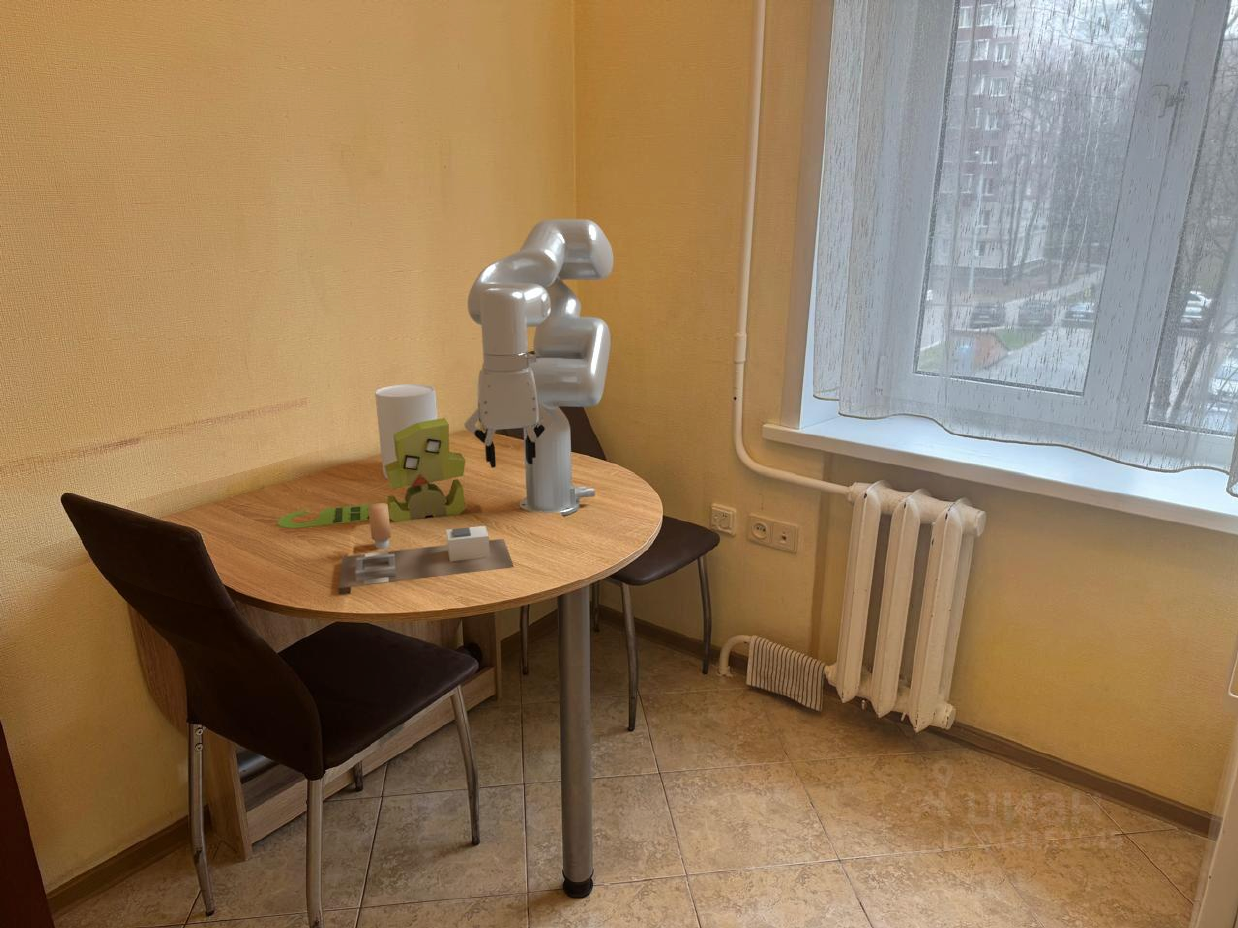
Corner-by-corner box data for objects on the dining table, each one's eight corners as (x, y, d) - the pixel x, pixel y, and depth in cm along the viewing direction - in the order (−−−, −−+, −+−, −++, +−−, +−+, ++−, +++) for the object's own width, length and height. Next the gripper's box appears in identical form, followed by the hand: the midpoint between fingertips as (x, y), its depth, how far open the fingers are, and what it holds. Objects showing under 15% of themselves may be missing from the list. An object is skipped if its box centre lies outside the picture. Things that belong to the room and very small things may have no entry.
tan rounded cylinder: (392, 547, 155) (387, 502, 152) (392, 554, 152) (387, 508, 149) (373, 549, 154) (368, 504, 151) (373, 556, 151) (368, 510, 148)
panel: (503, 544, 156) (503, 531, 155) (514, 573, 144) (513, 558, 143) (342, 562, 148) (340, 549, 148) (339, 594, 136) (337, 579, 136)
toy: (389, 529, 164) (380, 431, 158) (387, 519, 169) (377, 424, 163) (469, 518, 169) (463, 423, 163) (464, 508, 174) (458, 416, 168)
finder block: (486, 545, 152) (485, 523, 151) (489, 556, 148) (488, 533, 146) (447, 550, 150) (446, 527, 149) (449, 561, 146) (448, 538, 144)
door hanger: (403, 502, 179) (280, 515, 172) (403, 500, 179) (280, 513, 172) (405, 517, 170) (276, 532, 164) (405, 515, 170) (275, 529, 163)
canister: (379, 467, 201) (371, 387, 195) (435, 460, 206) (429, 382, 200) (387, 484, 189) (379, 399, 183) (446, 476, 194) (440, 393, 188)
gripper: (551, 356, 146) (555, 453, 152) (452, 361, 142) (459, 461, 147) (560, 363, 139) (563, 465, 145) (456, 369, 135) (463, 474, 141)
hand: (511, 462), depth 146 cm, fingers open, 5 cm apart
